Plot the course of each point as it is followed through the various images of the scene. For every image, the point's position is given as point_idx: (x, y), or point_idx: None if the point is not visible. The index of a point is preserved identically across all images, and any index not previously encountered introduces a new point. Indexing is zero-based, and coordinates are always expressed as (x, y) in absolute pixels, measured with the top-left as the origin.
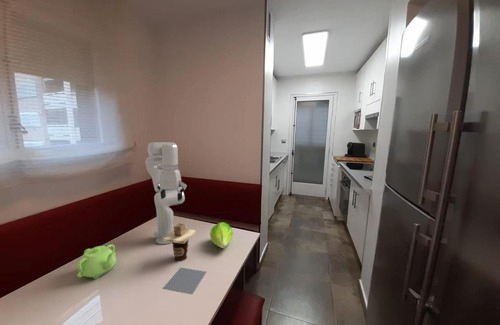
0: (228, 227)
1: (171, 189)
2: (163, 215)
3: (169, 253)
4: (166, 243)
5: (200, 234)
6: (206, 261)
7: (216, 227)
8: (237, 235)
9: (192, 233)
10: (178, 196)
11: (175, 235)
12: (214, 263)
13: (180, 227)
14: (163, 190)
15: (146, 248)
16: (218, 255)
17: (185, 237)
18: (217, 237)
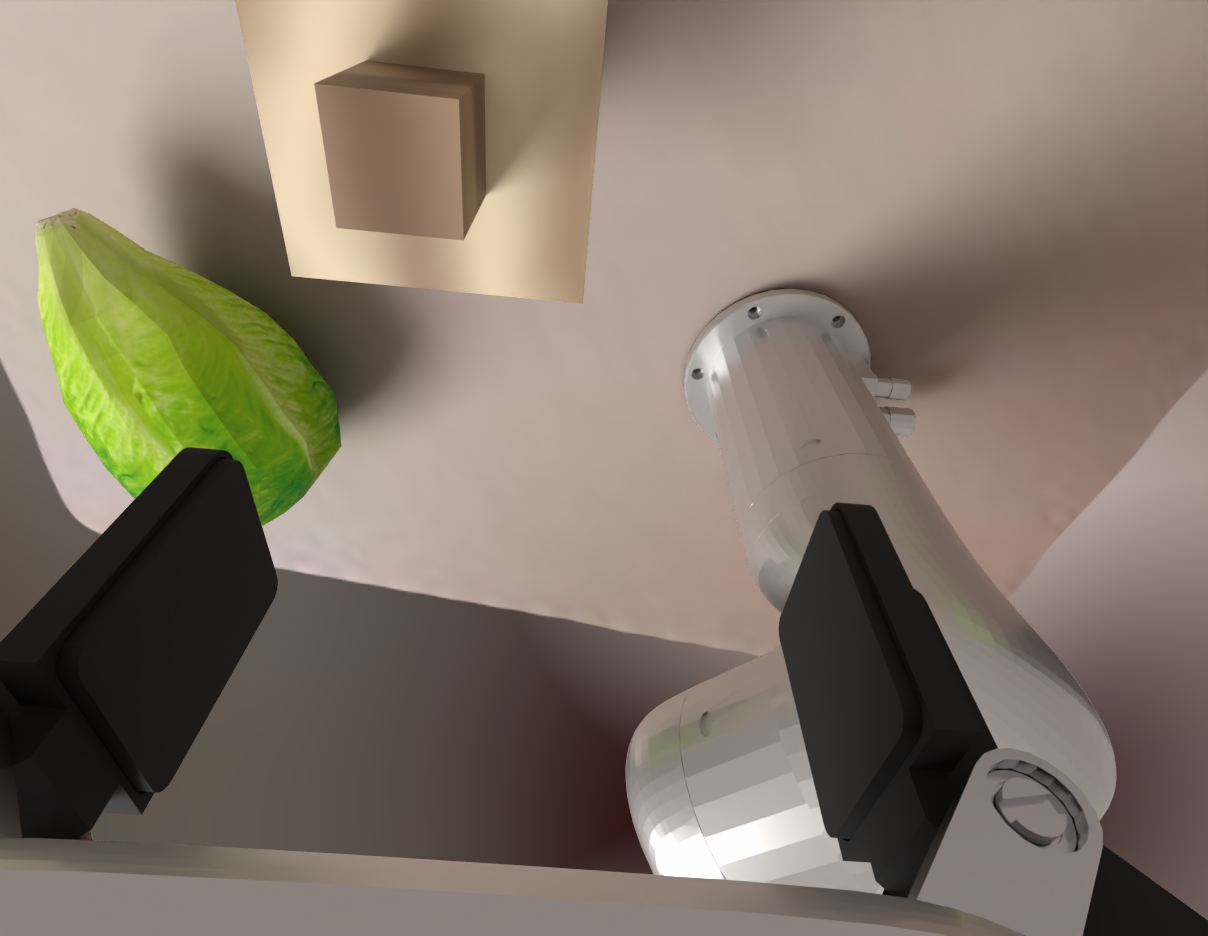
0: (109, 464)
1: (118, 885)
2: (838, 488)
3: (645, 157)
4: (741, 302)
5: (511, 471)
6: (214, 66)
7: (220, 447)
8: None
9: (274, 183)
10: (89, 552)
11: (463, 73)
12: (116, 42)
13: (323, 83)
14: (890, 834)
15: (908, 212)
16: (167, 184)
17: (283, 37)
18: (134, 303)
